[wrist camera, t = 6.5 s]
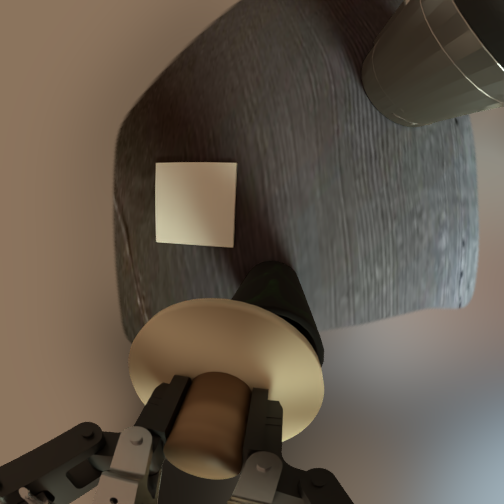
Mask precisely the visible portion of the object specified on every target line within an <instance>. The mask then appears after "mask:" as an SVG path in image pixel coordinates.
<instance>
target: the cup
mask: <svg viewBox="0 0 504 504" xmlns="http://www.w3.org/2000/svg"><path fill="white" fill-rule="evenodd" d="M231 300H235V301H241V302H244V303H248V304H251V305H255V306H258V307H260V308H262V309H265V310H267V311H270V312H272V313H273V314H275V315H277V316H279V317H281V318H282V319H284V320H285V321H287V322H288V323H290V324H291V325H292V326H294V327H295V328H296V329H297V330H298V331H299V332H300V333H301V334H302V335H303V336H304V337H305V338H306V339H307V340H308V342H309V343H310V344H311V345H312V347H313V349H314V351H315V352H316V354H317V356H318V359H319V362H320V364H321V367H322V364H323V361H324V348H323V345H322V341H321V338H320V335H319V332H318V330H317V327H316V324H315V321H314V319H313V316H312V313H311V311H310V308H309V305H308V303H307V300H306V297H305V295H304V292H303V290H302V287H301V284H300V282H299V279H298V277H297V275H296V273H295V272H294V271H293V270H292V269H291V268H290V267H289V266H287V265H285V264H284V263H280V262H276V261H268V262H263V263H261V264H259V265H257V266H255V267H254V268H253V269H252V270H251V271H250V272H249V274H248V275H247V277H246V278H245V280H244V281H243V283H242V284H241V286H240V287H239V289H238V290H237V292H236V293H235V295H234V296H233V298H232V299H231Z"/></svg>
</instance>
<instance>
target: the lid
mask: <svg viewBox="0 0 504 504" xmlns="http://www.w3.org/2000/svg"><path fill="white" fill-rule="evenodd" d="M129 373H130V377H131V380H132V383H133V386H134V388H135V390H136V392H137V394H138V396H139V397H140V399H141V400H142V402H143V403H144V404H145V405H146V403H147V402H148V400H149V398H150V397H151V394H152V393H153V391H154V389H155V388H156V387H157V386H159V385H160V384H161V383H163V382H164V383H168V384H170V382H171V380H172V378H173V376H174V375H180V376H185V377H190V378H191V385H190V387H189V389H188V392H187V394H186V396H185V399H184V401H183V403H182V406H181V408H180V410H179V413H178V415H177V417H176V420H175V422H174V425H173V427H172V429H171V432H170V434H169V436H168V439H167V441H166V443H165V446H164V448H163V452H164V455H165V457H166V458H167V459H168V461H170V462H171V463H172V464H173V465H174V466H176V467H177V468H179V469H181V470H182V471H185V472H187V473H189V474H192V475H195V476H198V477H202V478H208V479H227V478H232V477H234V476H236V475H238V474H239V473H240V472H241V470H242V464H243V460H242V453H243V446H244V440H245V434H246V428H247V422H248V416H249V409H250V403H251V397H252V391H253V387H254V388H263V389H269V391H268V400H275V401H279V402H280V404H281V406H282V408H283V426H282V427H283V428H282V442H283V441H285V440H287V439H289V438H292V437H293V436H295V435H296V434H298V433H300V432H301V431H302V430H303V429H305V428H306V427H307V426H308V425H309V424H310V423H311V422H312V421H313V419H314V418H315V416H316V415H317V413H318V411H319V409H320V407H321V405H322V401H323V396H324V382H323V376H322V370H321V364H320V362H319V359H318V356H317V354H316V352H315V351H314V349H313V347H312V345H311V344H310V343H309V342H308V340H307V339H306V338H305V337H304V336H303V335H302V334H301V333H300V332H299V331H298V330H297V329H296V328H295V327H294V326H292V325H291V324H290V323H288V322H287V321H285V320H284V319H282V318H281V317H279V316H277V315H275V314H273V313H272V312H270V311H267V310H265V309H262V308H260V307H258V306H255V305H251V304H248V303H244V302H241V301H235V300H229V299H218V298H204V299H194V300H188V301H183V302H180V303H177V304H174V305H171V306H169V307H167V308H165V309H163V310H162V311H160V312H159V313H157V314H156V315H155V316H153V317H152V318H151V319H150V320H149V321H148V322H147V323H146V325H145V326H144V327H143V328H142V329H141V330H140V332H139V333H138V335H137V336H136V338H135V339H134V341H133V343H132V346H131V348H130V353H129Z"/></svg>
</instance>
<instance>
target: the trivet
mask: <svg viewBox="0 0 504 504" xmlns="http://www.w3.org/2000/svg"><path fill="white" fill-rule="evenodd" d="M236 182H237V163H219V162H173V163H156V182H155V213H156V242H163V243H176V244H190V245H203V246H217V247H230V248H233V247H234V232H235V206H236Z"/></svg>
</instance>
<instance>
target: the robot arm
mask: <svg viewBox="0 0 504 504" xmlns="http://www.w3.org/2000/svg"><path fill="white" fill-rule="evenodd" d="M362 82H363V87H364V89H365V92H366V94H367V96H368V98H369V99H370V101H371V102H372V104H373V105H374V106H375V107H376V109H377V110H378V111H379V112H380V113H381V114H383V115H384V116H385V117H386V118H388V119H389V120H391V121H393V122H395V123H397V124H400V125H403V126H407V127H419V126H424V125H429V124H432V123H435V122H439V121H443V120H447V119H451V118H455V117H459V116H463V115H467V114H471V113H475V112H480V111H485V110H489V109H494V108H499V107H504V0H404V1H403V2H402V3H401V5H400V6H399V7H398V9H397V10H396V12H395V13H394V14H393V16H392V17H391V18H390V20H389V21H388V22H387V24H386V25H385V26H384V28H383V29H382V31H381V32H380V33H379V35H378V36H377V37H376V39H375V40H374V47H373V48H372V50H371V51H370V52H369V54H368V55H367V56H366V58H365V60H364V62H363V66H362ZM190 385H191V378H190V377H185V376H180V375H174V376H173V378H172V380H171V382H170V384H168V383H164V382H163V383H161V384H160V385H159V386H157V387H156V388H155V389H154V391H153V393H152V394H151V397H150V398H149V400H148V402H147V403H146V405H145V407H144V409H143V411H142V412H141V414H140V416H139V418H138V419H137V421H136V423H135V425H134V426H132V427H128V428H126V429H125V430H123V431H122V432H121V433H114V432H103V431H102V430H101V428H100V427H99V426H98V425H97V424H95V423H92V422H84V423H80V424H78V425H77V426H75V427H73V428H72V429H70V430H68V431H67V432H65V433H63V434H61V435H59V436H58V437H56V438H54V439H52V440H51V441H49V442H47V443H45V444H43V445H41V446H40V447H38V448H36V449H34V450H32V451H30V452H28V453H26V454H24V455H23V456H21V457H19V458H17V459H15V460H13V461H11V462H9V463H7V464H5V465H3V466H1V467H0V504H69V503H71V502H72V501H74V500H76V499H77V498H79V497H80V496H82V495H84V494H85V493H86V492H88V491H90V490H91V489H92V488H94V487H96V486H97V485H98V487H97V490H96V493H95V497H94V500H93V504H157V501H158V493H159V486H160V479H161V474H162V464H163V461H164V459H166V460H168V459H167V458H166V457H165V455H164V452H163V448H164V446H165V443H166V441H167V439H168V436H169V434H170V432H171V429H172V427H173V425H174V422H175V420H176V417H177V415H178V413H179V410H180V408H181V406H182V403H183V401H184V399H185V396H186V394H187V392H188V389H189V387H190ZM268 391H269V389H263V388H254V387H253V391H252V397H251V403H250V409H249V416H248V422H247V428H246V434H245V440H244V446H243V453H242V460H243V464H242V470H241V472H240V474H241V476H240V478H239V480H238V483H237V485H236V488H235V490H234V492H233V495H232V497H231V498H230V499H229V500H228V502H227V504H354V503H353V502H352V500H351V499H350V498H349V496H348V495H347V493H346V492H345V491H344V489H343V487H342V486H341V485H340V483H339V482H338V480H337V479H336V477H335V476H334V475H333V473H331V472H330V471H328V470H326V469H323V468H314V469H310V470H308V471H304V470H300V469H297V468H294V467H292V466H290V465H288V464H287V463H286V462H285V461H284V459H283V457H282V453H281V451H282V428H283V427H282V426H283V408H282V406H281V404H280V402H279V401H275V400H268Z"/></svg>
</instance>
